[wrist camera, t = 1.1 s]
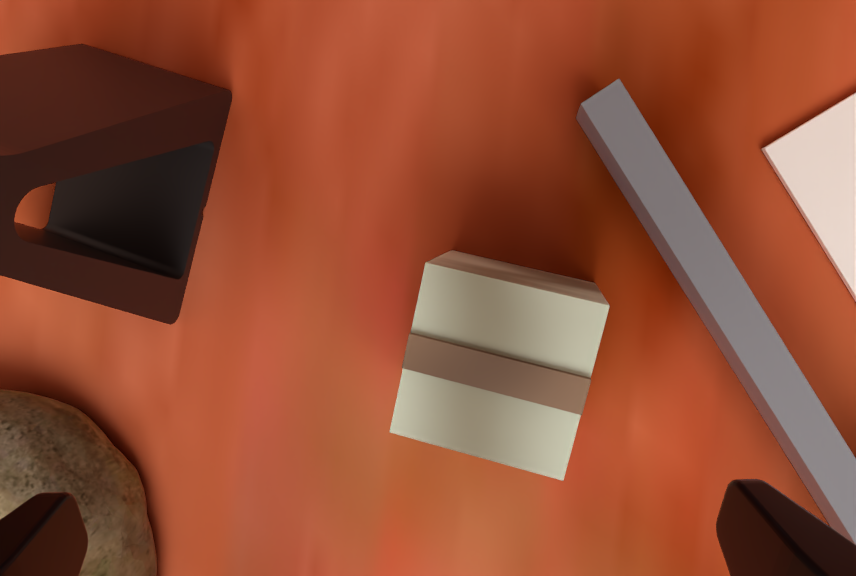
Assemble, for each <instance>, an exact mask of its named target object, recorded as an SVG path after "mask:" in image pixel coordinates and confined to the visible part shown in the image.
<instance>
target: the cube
mask: <svg viewBox="0 0 856 576" xmlns="http://www.w3.org/2000/svg"><path fill="white" fill-rule="evenodd" d="M609 307H610V305H609V304H608V302H607V301H606V299H605V297H604V296H603V294H602V293H601V291H600V290H599V288H598V287H597V285H596V284H595V283H593V282H589V281H585V280H580V279H576V278H572V277H567V276H563V275H559V274H554V273H550V272H545V271H541V270H537V269H532V268H528V267H524V266H519V265H515V264H511V263H506V262H502V261H498V260H493V259H489V258H485V257H480V256H476V255H472V254H467V253H463V252H458V251H454V250H451V251H448V252H446V253H444V254H442V255H440V256H438V257H436V258H434V259H432V260H430V261H427V262H425V267H424V272H423V277H422V281H421V286H420V291H419V295H418V300H417V305H416V310H415V314H414V319H413V324H412V328H411V332H410V333H409V337H408V342H407V346H406V351H405V356H404V360H403V365H402V368H403V371H402V376H401V380H400V385H399V390H398V394H397V399H396V404H395V409H394V413H393V418H392V423H391V428H390V433H394V434H397V435H401V436H405V437H408V438H412V439H415V440H419V441H422V442H426V443H430V444H433V445H437V446H440V447H444V448H447V449H451V450H455V451H458V452H462V453H465V454H469V455H473V456H476V457H480V458H483V459H487V460H490V461H494V462H498V463H501V464H505V465H508V466H512V467H515V468H519V469H523V470H526V471H530V472H533V473H537V474H541V475H544V476H548V477H551V478H555V479H558V480H562V481H563V480H564V476H565V473H566V469H567V465H568V461H569V458H570V454H571V450H572V446H573V442H574V439H575V435H576V431H577V427H578V424H579V420H580V416H581V415H582V413H583V409H584V405H585V401H586V398H587V394H588V390H589V386H590V382H591V375H592V371H593V367H594V363H595V360H596V356H597V352H598V348H599V344H600V341H601V337H602V333H603V329H604V326H605V322H606V318H607V314H608V311H609Z"/></svg>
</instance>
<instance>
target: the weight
mask: <svg viewBox="0 0 856 576" xmlns="http://www.w3.org/2000/svg"><path fill="white" fill-rule="evenodd" d="M43 492H68V493H71V494H72V495H73V496H74V497H75V499H76V501H77V504H78V507H79V510H80V513H81V516H82V519H83V521H84V524H85V527H86V530H87V534H88V548H87V552H86V556H85V559H84V562H83V565H82V568H81V571H80V574H79V576H157V559H156V551H155V544H154V540H153V534H152V529H151V526H150V523H149V520H148V517H147V506H146V497H145V492H144V488H143V485H142V482H141V480H140V477H139V474H138V471H137V470H136V468H135V467H134V466H133V465H132V464H131V463H130V462H129V461H128V460H127V459H126V457H125V456H124V455H123V454H122V453H121V452H120V451H119V450H118V449H117V448H116V447H115V446H114V445H113V444H112V443H111V441H110V440H109V439H108V438H107V436H106V435H105V434H104V432H103V431H102V430H101V429H100V428H99V427H98V426H97V425H96V424H95V423H94V422H93V421H92V420H91V419H90V418H89V417H88V416H87V415H85V414H84V413H83V412H81V411H80V410H79V409H77V408H75V407H72V406H71V405H68V404H66V403H62V402H60V401H57V400H55V399H52V398H48V397H43V396H40V395H36V394H32V393H28V392H23V391H15V390H6V389H0V519H2V518H3V517H5V516H6V515H7V514H9V513H10V512H12V511H13V510H14V509H16V508H17V507H19V506H20V505H21V504H23V503H24V502H26V501H27V500H28V499H30V498H31V497H33V496H35V495H36V494H39V493H43Z"/></svg>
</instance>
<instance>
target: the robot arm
mask: <svg viewBox="0 0 856 576" xmlns="http://www.w3.org/2000/svg"><path fill="white" fill-rule="evenodd" d="M716 531H717V537H718V540H719V543H720V546H721V549H722V552H723V555H724V558H725V561H726V564H727V567H728V570H729V573H730V576H856V544H854V543H853V542H851V541H850V540H849V539H847V538H846V537H844V536H843V535H841V534H840V533H839V532H837V531H836V530H834V529H833V528H831V527H830V526H828V525H827V524H826V523H824V522H823V521H821V520H820V519H818V518H817V517H816V516H814V515H813V514H811V513H810V512H808V511H807V510H805V509H804V508H803V507H801V506H800V505H798V504H797V503H795V502H794V501H793V500H791V499H790V498H788V497H787V496H785V495H784V494H782V493H781V492H780V491H778V490H777V489H775V488H774V487H772V486H771V485H770V484H768V483H766V482H765V481H762V480H758V479H742V480H733V481H731V482H730V483H729V484H728V486H727V489H726V492H725V495H724V499H723V502H722V505H721V508H720V512H719V515H718V518H717V523H716ZM87 548H88V534H87V530H86V527H85V524H84V521H83V519H82V516H81V513H80V510H79V507H78V504H77V501H76V499H75V497H74V496H73V495H72V494H71V493H68V492H43V493H39V494H36V495H35V496H33V497H31V498H30V499H28V500H27V501H26V502H24V503H23V504H21V505H20V506H19V507H17V508H16V509H14V510H13V511H12V512H10V513H9V514H7V515H6V516H5V517H3V518H2V519H0V576H79V574H80V571H81V568H82V565H83V562H84V559H85V556H86V552H87Z"/></svg>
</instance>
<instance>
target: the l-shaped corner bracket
mask: <svg viewBox="0 0 856 576" xmlns="http://www.w3.org/2000/svg"><path fill="white" fill-rule="evenodd" d="M576 120H577V121H578V123H579V124H580V126H581V128H582V129H583V131H584V132H585V134H586V136H587V137H588V139H589V140H590V142H591V144H592V145H593V147H594V148H595V150H596V152H597V153H598V155H599V156H600V158H601V160H602V161H603V163H604V164H605V166H606V168H607V169H608V171H609V172H610V174H611V176H612V177H613V179H614V180H615V182H616V184H617V185H618V187H619V188H620V190H621V192H622V193H623V195H624V196H625V198H626V200H627V201H628V203H629V204H630V206H631V208H632V209H633V211H634V212H635V214H636V216H637V217H638V219H639V220H640V222H641V224H642V225H643V227H644V228H645V230H646V232H647V233H648V235H649V236H650V238H651V240H652V241H653V243H654V245H655V246H656V248H657V249H658V251H659V253H660V254H661V256H662V257H663V259H664V261H665V262H666V264H667V265H668V267H669V269H670V270H671V272H672V273H673V275H674V277H675V278H676V280H677V281H678V283H679V285H680V286H681V288H682V289H683V291H684V293H685V294H686V296H687V297H688V299H689V301H690V302H691V304H692V305H693V307H694V309H695V310H696V312H697V313H698V315H699V317H700V318H701V320H702V321H703V323H704V325H705V326H706V328H707V329H708V331H709V333H710V334H711V336H712V337H713V339H714V341H715V342H716V344H717V345H718V347H719V349H720V350H721V352H722V353H723V355H724V357H725V358H726V360H727V361H728V363H729V365H730V366H731V368H732V369H733V371H734V373H735V374H736V376H737V378H738V379H739V381H740V382H741V384H742V386H743V387H744V389H745V390H746V392H747V394H748V395H749V397H750V398H751V400H752V402H753V403H754V405H755V406H756V408H757V410H758V411H759V413H760V414H761V416H762V418H763V419H764V421H765V422H766V424H767V426H768V427H769V429H770V430H771V432H772V434H773V435H774V437H775V438H776V440H777V442H778V443H779V445H780V446H781V448H782V450H783V451H784V453H785V454H786V456H787V458H788V459H789V461H790V462H791V464H792V466H793V467H794V469H795V470H796V472H797V474H798V475H799V477H800V478H801V480H802V482H803V483H804V485H805V486H806V488H807V490H808V491H809V493H810V494H811V496H812V498H813V499H814V501H815V502H816V504H817V506H818V507H819V509H820V510H821V512H822V514H823V515H824V517H825V519H826V520H827V522H828V523H829V525H830V527H831V528H833V529H834V530H836V531H837V532H839V533H840V534H841V535H843V536H844V537H846V538H847V539H849V540H850V541H851V542H853V543H854V544H856V458H855V457H854V455H853V453H852V452H851V450H850V449H849V447H848V445H847V444H846V442H845V441H844V439H843V437H842V436H841V434H840V433H839V431H838V429H837V428H836V426H835V425H834V423H833V421H832V420H831V418H830V416H829V415H828V413H827V412H826V410H825V408H824V407H823V405H822V404H821V402H820V400H819V399H818V397H817V396H816V394H815V392H814V391H813V389H812V388H811V386H810V384H809V383H808V381H807V380H806V378H805V376H804V375H803V373H802V372H801V370H800V368H799V367H798V365H797V363H796V362H795V360H794V359H793V357H792V355H791V354H790V352H789V351H788V349H787V347H786V346H785V344H784V343H783V341H782V339H781V338H780V336H779V335H778V333H777V331H776V330H775V328H774V327H773V325H772V323H771V322H770V320H769V318H768V317H767V315H766V314H765V312H764V310H763V309H762V307H761V306H760V304H759V302H758V301H757V299H756V298H755V296H754V294H753V293H752V291H751V290H750V288H749V286H748V285H747V283H746V282H745V280H744V278H743V277H742V275H741V273H740V272H739V270H738V269H737V267H736V265H735V264H734V262H733V261H732V259H731V257H730V256H729V254H728V253H727V251H726V249H725V248H724V246H723V245H722V243H721V241H720V240H719V238H718V237H717V235H716V233H715V232H714V230H713V228H712V227H711V225H710V224H709V222H708V220H707V219H706V217H705V216H704V214H703V212H702V211H701V209H700V208H699V206H698V204H697V203H696V201H695V200H694V198H693V196H692V195H691V193H690V192H689V190H688V188H687V187H686V185H685V183H684V182H683V180H682V179H681V177H680V175H679V174H678V172H677V171H676V169H675V167H674V166H673V164H672V163H671V161H670V159H669V158H668V156H667V155H666V153H665V151H664V150H663V148H662V147H661V145H660V143H659V142H658V140H657V138H656V137H655V135H654V134H653V132H652V130H651V129H650V127H649V126H648V124H647V122H646V121H645V119H644V118H643V116H642V114H641V113H640V111H639V110H638V108H637V106H636V105H635V103H634V102H633V100H632V98H631V97H630V95H629V93H628V92H627V90H626V89H625V87H624V85H623V84H622V82H621V81H620V79H617V80H616V81H614V82H613V83H611V84H610V85H608V86H607V87H605V88H604V89H602V90H601V91H599V92H598V93H596V94H595V95H593V96H592V97H590V98H589V99H587V100H586V101H584V102H583V103H581V105H580V107H579V110H578V113H577V116H576ZM761 150H762V151H763V153H764V155H765V156H766V158H767V159H768V161H769V163H770V164H771V166H772V167H773V169H774V171H775V172H776V174H777V175H778V177H779V179H780V180H781V182H782V184H783V185H784V187H785V188H786V190H787V192H788V193H789V195H790V196H791V198H792V200H793V201H794V203H795V205H796V206H797V208H798V209H799V211H800V213H801V214H802V216H803V217H804V219H805V221H806V222H807V224H808V226H809V227H810V229H811V230H812V232H813V234H814V235H815V237H816V238H817V240H818V242H819V243H820V245H821V247H822V248H823V250H824V251H825V253H826V255H827V256H828V258H829V259H830V261H831V263H832V264H833V266H834V267H835V269H836V271H837V272H838V274H839V276H840V277H841V279H842V280H843V282H844V284H845V285H846V287H847V288H848V290H849V292H850V293H851V295H852V297H853V298H854V300H855V301H856V92H855V93H854V94H852V95H850V96H849V97H847V98H845V99H844V100H842V101H840V102H839V103H837V104H835V105H834V106H832V107H830V108H829V109H827V110H825V111H824V112H822V113H820V114H819V115H817V116H815V117H814V118H812V119H810V120H809V121H807V122H805V123H804V124H802V125H800V126H799V127H797V128H795V129H794V130H792V131H790V132H789V133H787V134H785V135H784V136H782V137H780V138H779V139H777V140H775V141H774V142H772V143H770V144H769V145H767V146H765V147H764V148H762V149H761Z"/></svg>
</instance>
